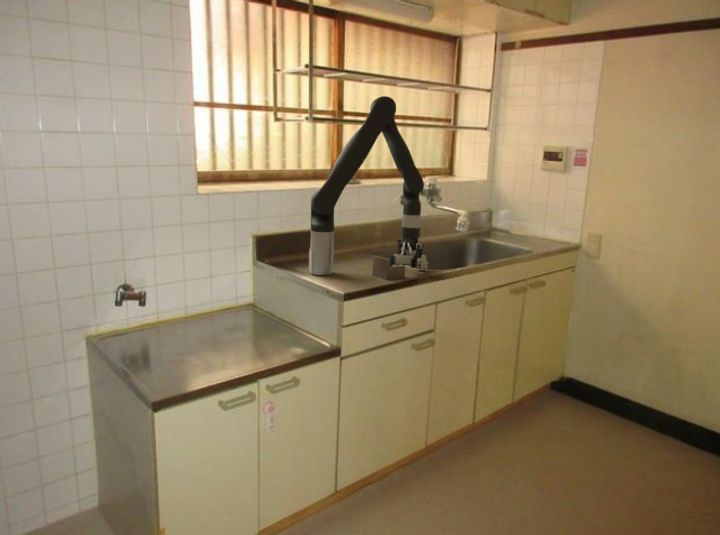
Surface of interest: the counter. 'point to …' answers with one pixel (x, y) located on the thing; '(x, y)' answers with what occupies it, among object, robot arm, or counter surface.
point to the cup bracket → (386, 269)
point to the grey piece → (407, 260)
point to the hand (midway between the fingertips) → (408, 266)
